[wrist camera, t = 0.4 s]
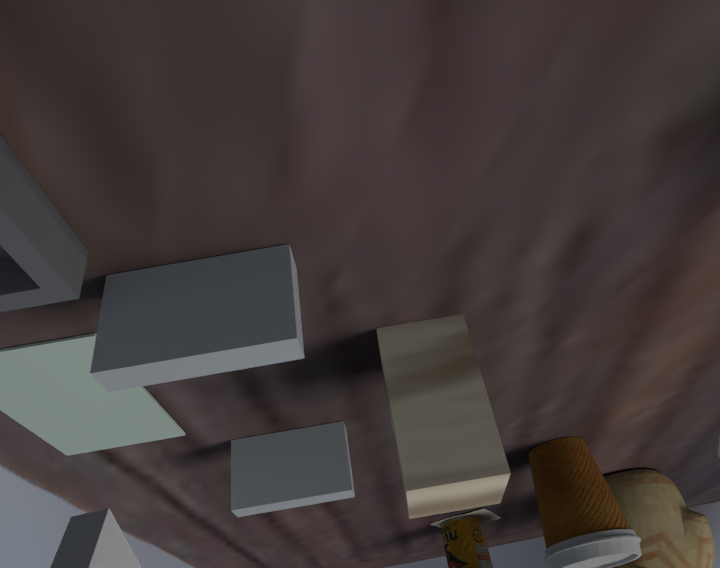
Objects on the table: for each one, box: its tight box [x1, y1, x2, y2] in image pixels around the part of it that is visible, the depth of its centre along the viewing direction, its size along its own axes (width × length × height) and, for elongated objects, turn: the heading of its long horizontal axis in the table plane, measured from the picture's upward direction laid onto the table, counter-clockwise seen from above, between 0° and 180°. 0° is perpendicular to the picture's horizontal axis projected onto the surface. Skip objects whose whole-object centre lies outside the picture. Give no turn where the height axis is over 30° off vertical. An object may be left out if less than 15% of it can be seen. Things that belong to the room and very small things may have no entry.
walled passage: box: [90, 244, 355, 517], centre depth 39 cm, size 26×10×6 cm, turn 6°
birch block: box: [376, 314, 511, 519], centre depth 38 cm, size 6×6×11 cm
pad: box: [0, 333, 185, 456], centre depth 41 cm, size 16×10×1 cm, turn 6°
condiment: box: [430, 508, 500, 568], centre depth 80 cm, size 7×8×12 cm
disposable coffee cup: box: [528, 437, 642, 568], centre depth 60 cm, size 10×10×12 cm
